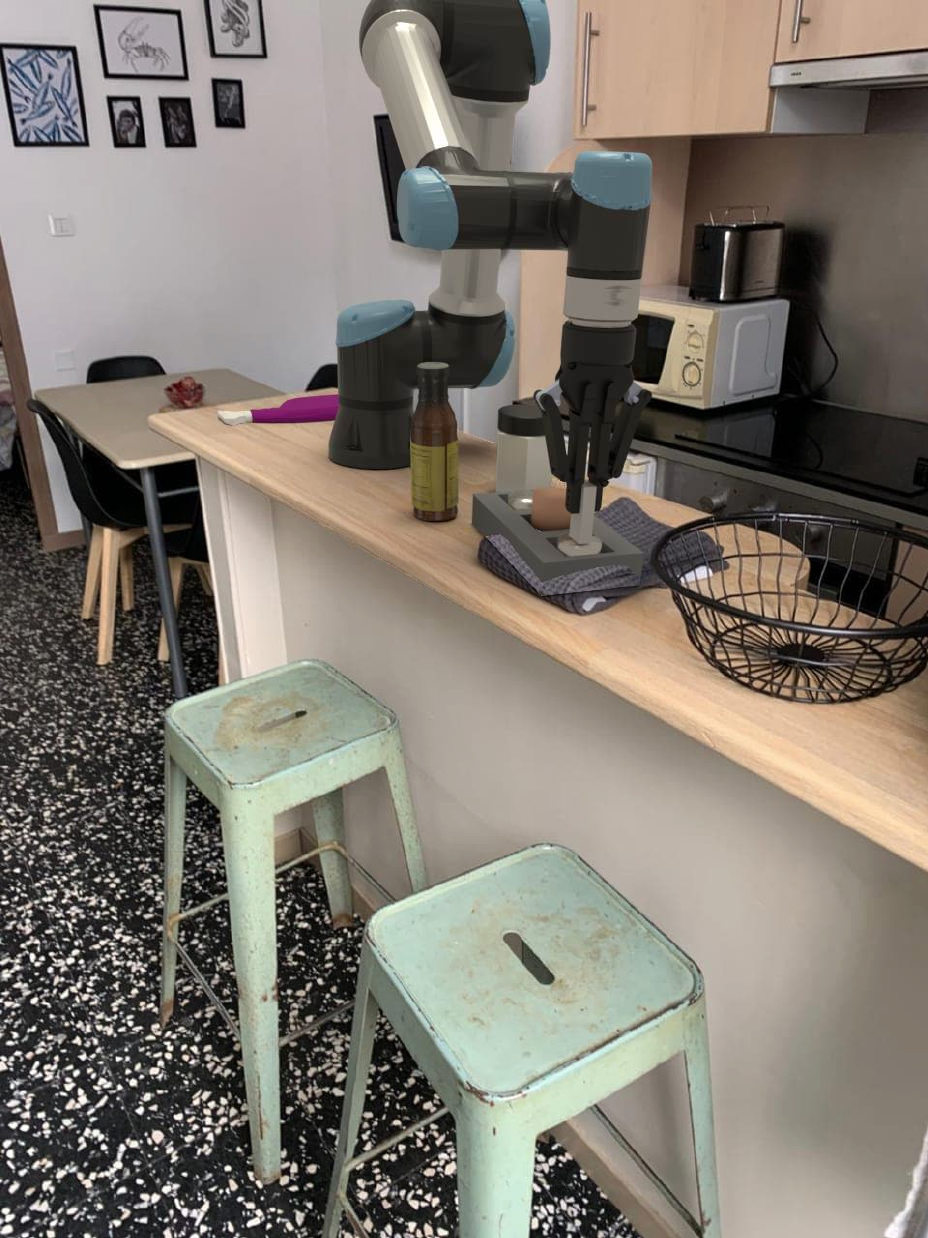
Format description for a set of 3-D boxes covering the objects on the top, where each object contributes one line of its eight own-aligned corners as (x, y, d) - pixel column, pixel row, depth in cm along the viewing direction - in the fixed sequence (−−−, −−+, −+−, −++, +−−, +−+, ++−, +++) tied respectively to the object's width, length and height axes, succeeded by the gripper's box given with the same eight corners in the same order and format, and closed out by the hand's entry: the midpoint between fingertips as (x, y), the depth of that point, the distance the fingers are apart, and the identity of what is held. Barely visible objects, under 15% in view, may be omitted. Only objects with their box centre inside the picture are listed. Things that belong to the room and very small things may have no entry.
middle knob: (524, 519, 114) (526, 488, 112) (562, 516, 115) (564, 485, 114) (540, 533, 110) (542, 501, 108) (579, 530, 111) (582, 498, 109)
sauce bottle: (445, 505, 129) (448, 358, 120) (466, 519, 124) (471, 367, 115) (401, 511, 126) (402, 360, 117) (421, 526, 121) (423, 370, 112)
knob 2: (548, 567, 108) (550, 535, 107) (587, 563, 110) (590, 531, 108) (565, 584, 104) (568, 550, 102) (606, 579, 106) (609, 546, 104)
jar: (553, 505, 130) (559, 419, 125) (494, 503, 130) (498, 417, 125) (548, 485, 138) (554, 404, 133) (493, 483, 138) (497, 402, 133)
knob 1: (500, 521, 122) (502, 492, 120) (536, 518, 123) (538, 489, 122) (514, 534, 118) (516, 504, 116) (551, 531, 119) (553, 501, 117)
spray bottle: (363, 420, 172) (230, 434, 162) (343, 407, 180) (215, 419, 170) (362, 404, 170) (228, 417, 160) (342, 391, 179) (214, 403, 169)
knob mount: (471, 523, 122) (472, 493, 121) (556, 516, 126) (558, 487, 124) (541, 596, 102) (543, 562, 100) (639, 586, 105) (643, 553, 104)
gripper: (555, 327, 90) (539, 556, 100) (675, 325, 94) (647, 546, 104) (526, 316, 96) (514, 532, 106) (639, 314, 100) (617, 523, 110)
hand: (580, 538), depth 105 cm, fingers closed
